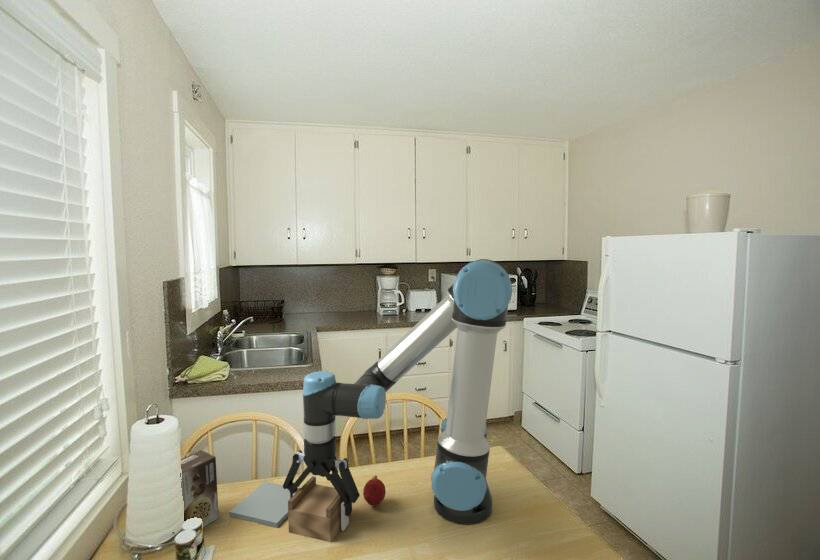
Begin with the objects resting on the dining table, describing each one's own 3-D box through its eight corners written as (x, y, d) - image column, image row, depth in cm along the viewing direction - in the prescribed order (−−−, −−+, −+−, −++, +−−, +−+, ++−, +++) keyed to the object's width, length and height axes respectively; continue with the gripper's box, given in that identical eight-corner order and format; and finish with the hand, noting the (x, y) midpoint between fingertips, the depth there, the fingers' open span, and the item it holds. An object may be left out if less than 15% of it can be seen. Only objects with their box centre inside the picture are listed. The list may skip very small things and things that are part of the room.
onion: (382, 514, 104) (382, 483, 103) (360, 511, 105) (360, 481, 104) (387, 500, 110) (387, 471, 109) (367, 497, 111) (367, 469, 110)
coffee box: (203, 509, 105) (201, 449, 104) (219, 518, 102) (217, 455, 101) (167, 530, 98) (164, 465, 96) (183, 540, 94) (180, 473, 93)
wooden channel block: (351, 513, 104) (350, 483, 104) (330, 543, 94) (330, 509, 93) (312, 505, 108) (312, 476, 107) (288, 533, 97) (288, 501, 97)
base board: (308, 494, 112) (308, 490, 112) (277, 527, 99) (277, 523, 99) (264, 485, 116) (264, 481, 116) (229, 516, 103) (229, 511, 103)
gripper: (373, 437, 99) (373, 521, 101) (284, 423, 106) (286, 502, 108) (360, 451, 92) (360, 542, 94) (266, 436, 99) (268, 520, 101)
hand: (320, 521), depth 101 cm, fingers open, 12 cm apart
